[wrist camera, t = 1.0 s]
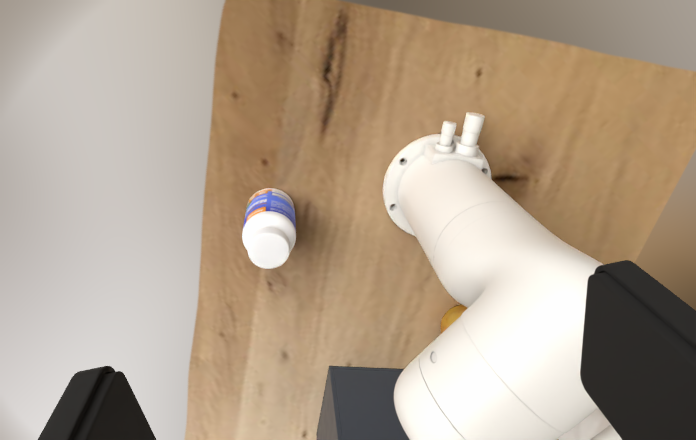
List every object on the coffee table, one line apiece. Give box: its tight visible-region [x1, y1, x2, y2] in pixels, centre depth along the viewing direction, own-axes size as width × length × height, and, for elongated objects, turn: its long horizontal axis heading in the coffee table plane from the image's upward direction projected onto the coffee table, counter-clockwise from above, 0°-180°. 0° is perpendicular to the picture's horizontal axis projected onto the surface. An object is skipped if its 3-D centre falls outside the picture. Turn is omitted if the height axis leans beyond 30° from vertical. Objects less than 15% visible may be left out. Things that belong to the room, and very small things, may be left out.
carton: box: [317, 366, 410, 440], centre depth 63 cm, size 13×13×12 cm
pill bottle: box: [242, 188, 296, 269], centre depth 50 cm, size 5×5×10 cm
